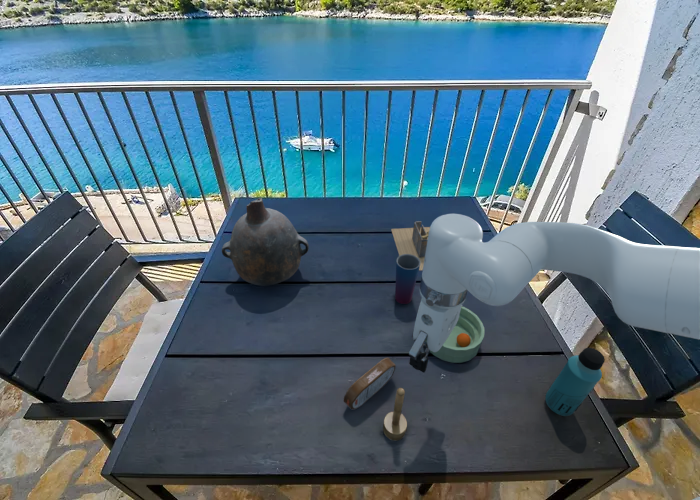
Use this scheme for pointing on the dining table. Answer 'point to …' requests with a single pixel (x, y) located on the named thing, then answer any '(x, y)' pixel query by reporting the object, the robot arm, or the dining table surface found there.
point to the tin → (369, 383)
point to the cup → (406, 277)
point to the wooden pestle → (396, 419)
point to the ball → (463, 340)
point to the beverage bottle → (575, 382)
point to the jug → (264, 246)
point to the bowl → (466, 325)
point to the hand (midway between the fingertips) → (429, 349)
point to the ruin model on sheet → (420, 239)
